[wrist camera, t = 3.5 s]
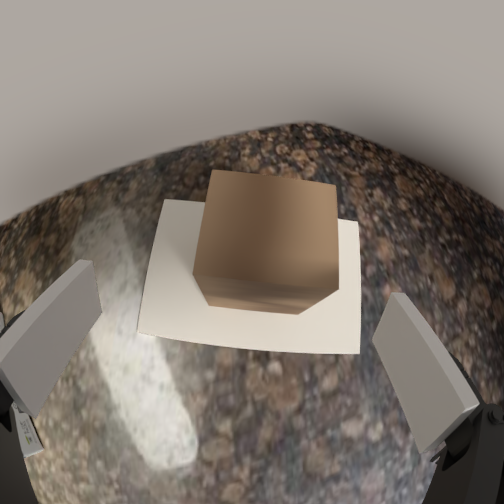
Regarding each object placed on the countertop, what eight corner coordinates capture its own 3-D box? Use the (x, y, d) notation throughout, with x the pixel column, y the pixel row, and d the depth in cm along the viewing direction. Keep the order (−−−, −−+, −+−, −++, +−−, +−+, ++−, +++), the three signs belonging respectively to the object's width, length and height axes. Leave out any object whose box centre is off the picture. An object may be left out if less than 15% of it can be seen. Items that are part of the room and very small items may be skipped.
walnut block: (301, 244, 23) (335, 185, 15) (297, 314, 21) (338, 289, 13) (218, 235, 23) (212, 169, 15) (208, 305, 21) (192, 274, 13)
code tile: (357, 222, 25) (357, 221, 25) (358, 353, 21) (359, 353, 20) (165, 200, 24) (164, 198, 24) (137, 332, 20) (136, 332, 20)
